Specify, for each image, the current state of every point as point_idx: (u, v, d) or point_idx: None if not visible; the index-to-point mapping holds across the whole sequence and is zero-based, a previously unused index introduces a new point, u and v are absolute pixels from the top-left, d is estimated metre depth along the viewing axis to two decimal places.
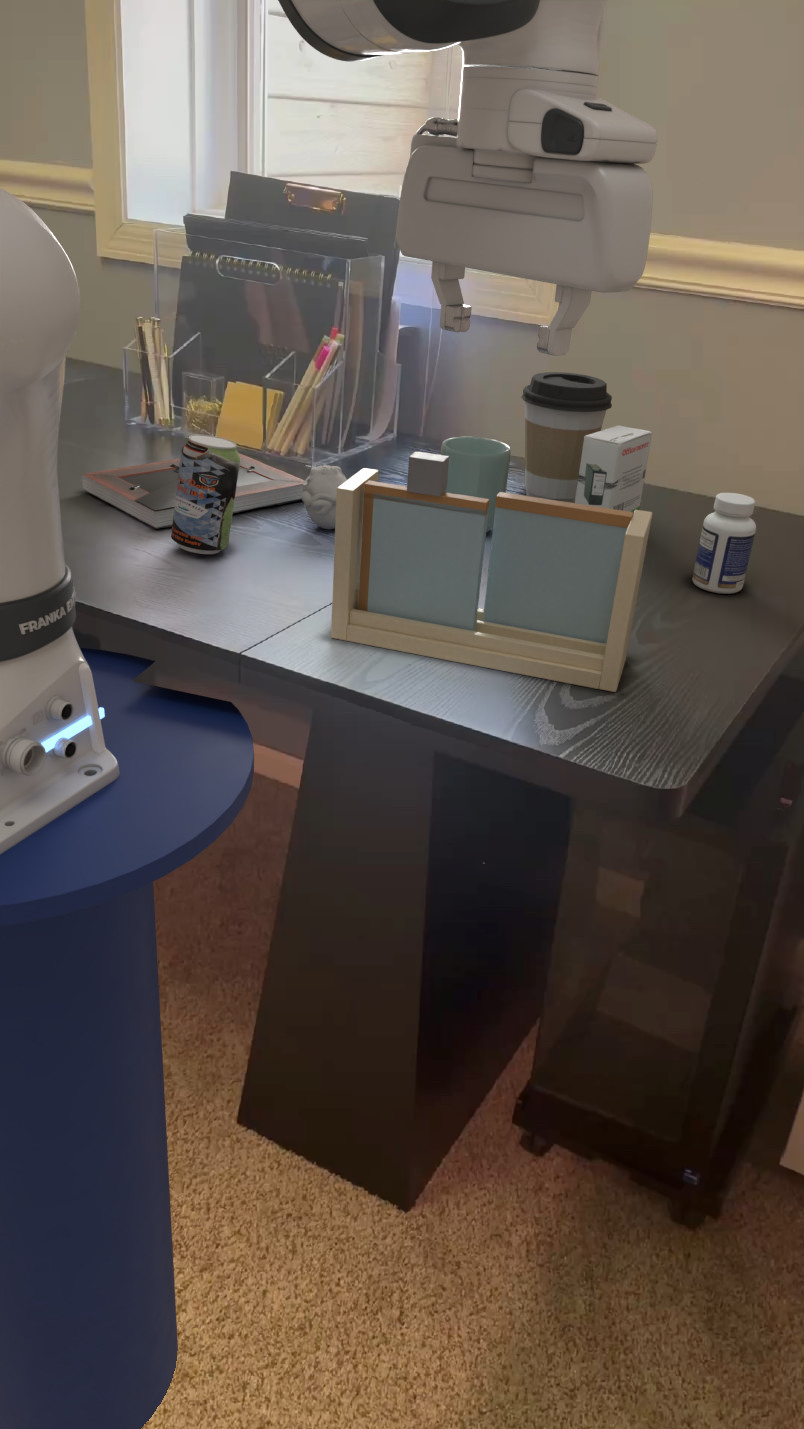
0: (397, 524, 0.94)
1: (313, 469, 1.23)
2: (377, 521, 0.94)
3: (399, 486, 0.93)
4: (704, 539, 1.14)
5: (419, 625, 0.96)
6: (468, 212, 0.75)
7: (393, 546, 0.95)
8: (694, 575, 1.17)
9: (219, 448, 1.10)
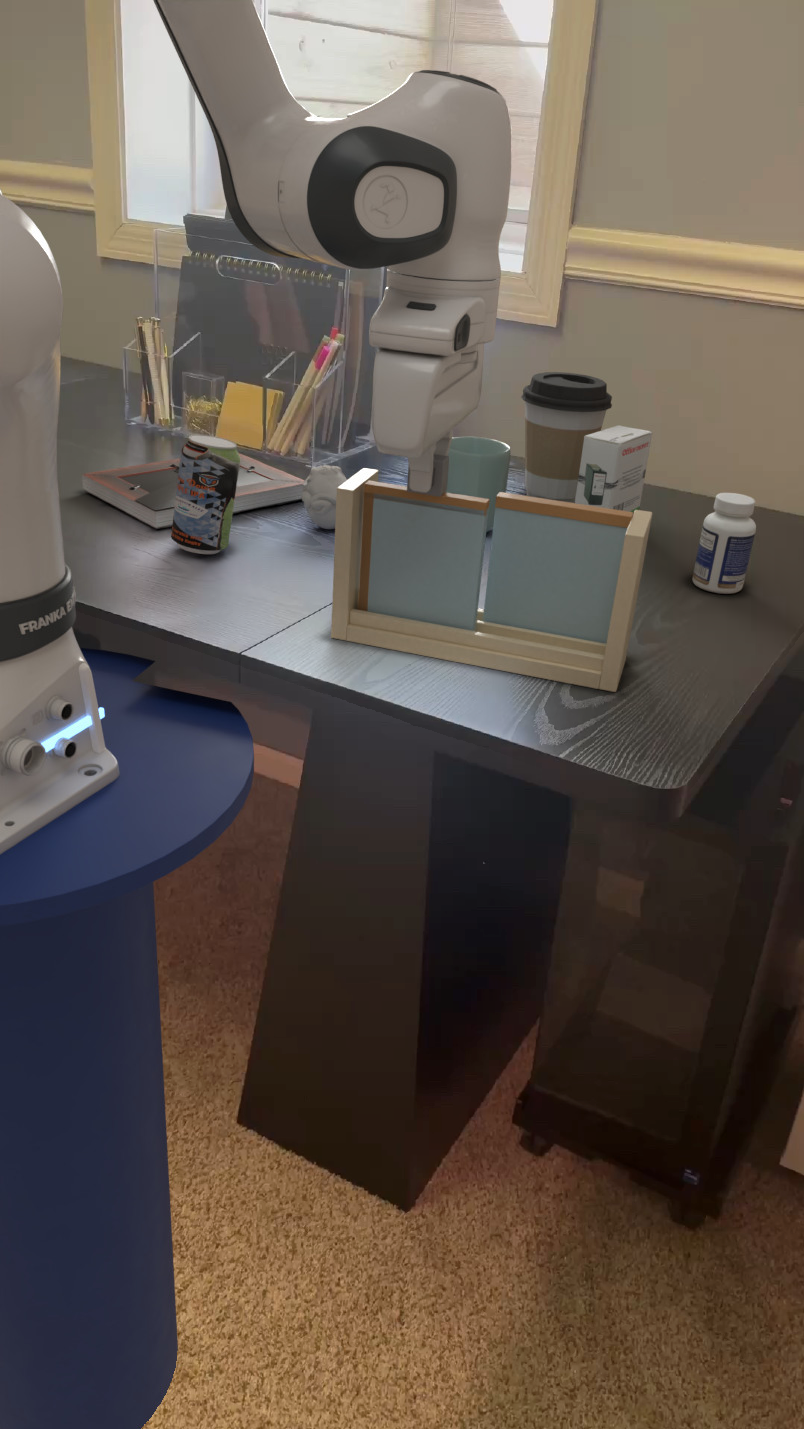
0: (397, 524, 0.94)
1: (313, 469, 1.23)
2: (377, 521, 0.94)
3: (399, 486, 0.93)
4: (704, 539, 1.14)
5: (419, 625, 0.96)
6: None
7: (393, 546, 0.95)
8: (694, 575, 1.17)
9: (219, 448, 1.10)
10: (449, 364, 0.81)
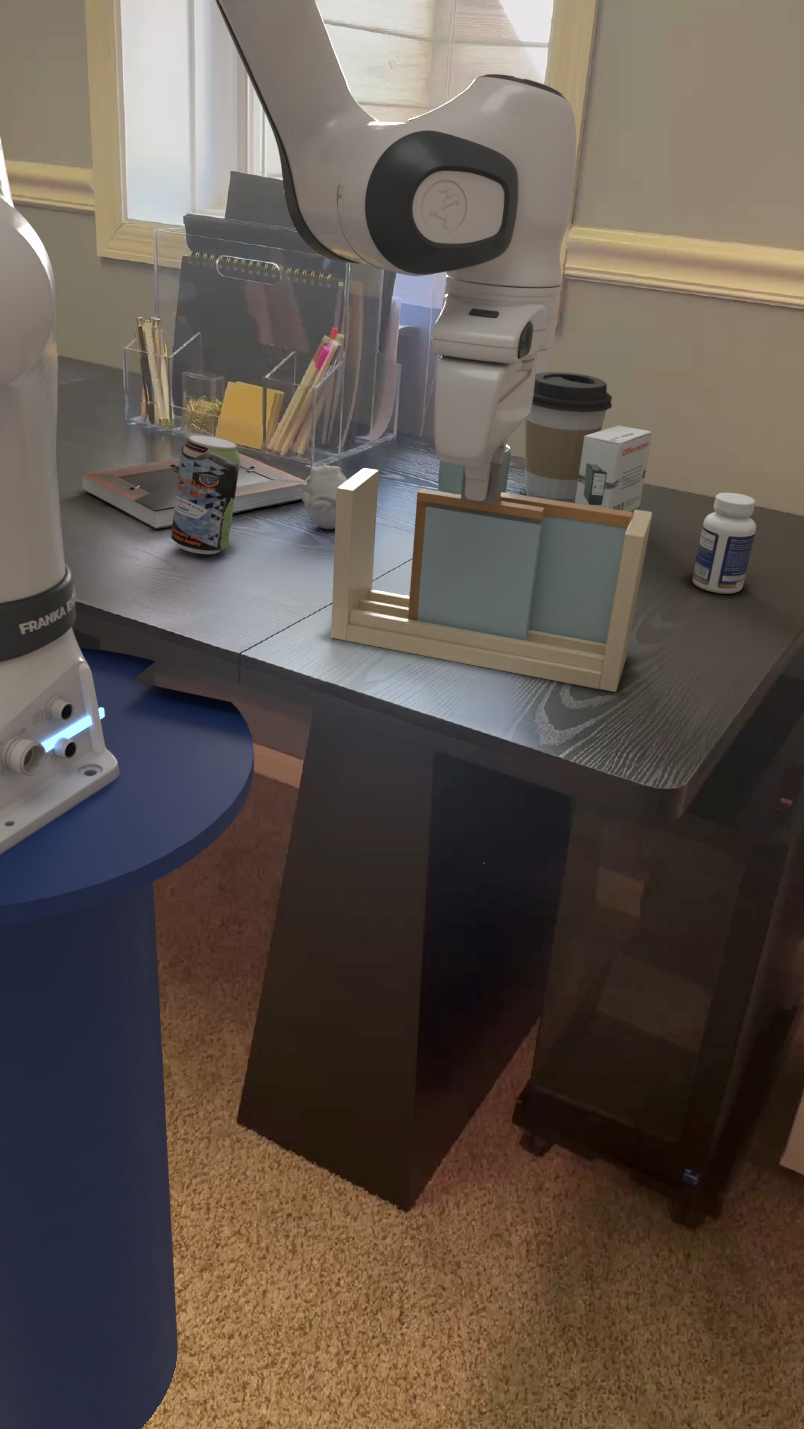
0: (450, 533, 0.93)
1: (313, 469, 1.23)
2: (429, 530, 0.93)
3: (452, 494, 0.92)
4: (704, 539, 1.14)
5: (419, 625, 0.96)
6: None
7: (445, 555, 0.94)
8: (694, 575, 1.17)
9: (219, 448, 1.10)
10: (512, 372, 0.80)
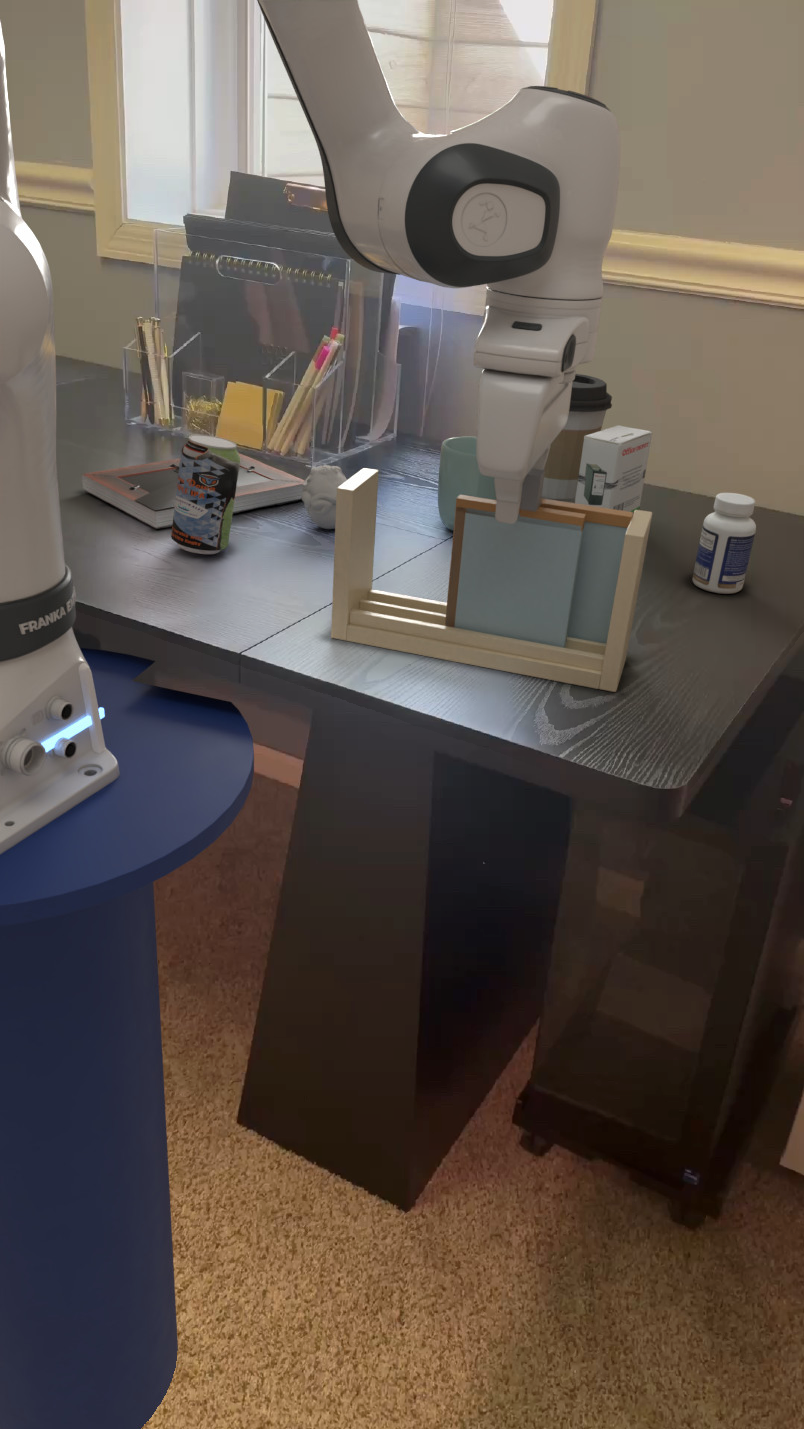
0: (489, 539, 0.92)
1: (313, 469, 1.23)
2: (468, 536, 0.93)
3: (492, 500, 0.92)
4: (704, 539, 1.14)
5: (419, 625, 0.96)
6: None
7: (484, 561, 0.93)
8: (694, 575, 1.17)
9: (219, 448, 1.10)
10: (554, 385, 0.79)
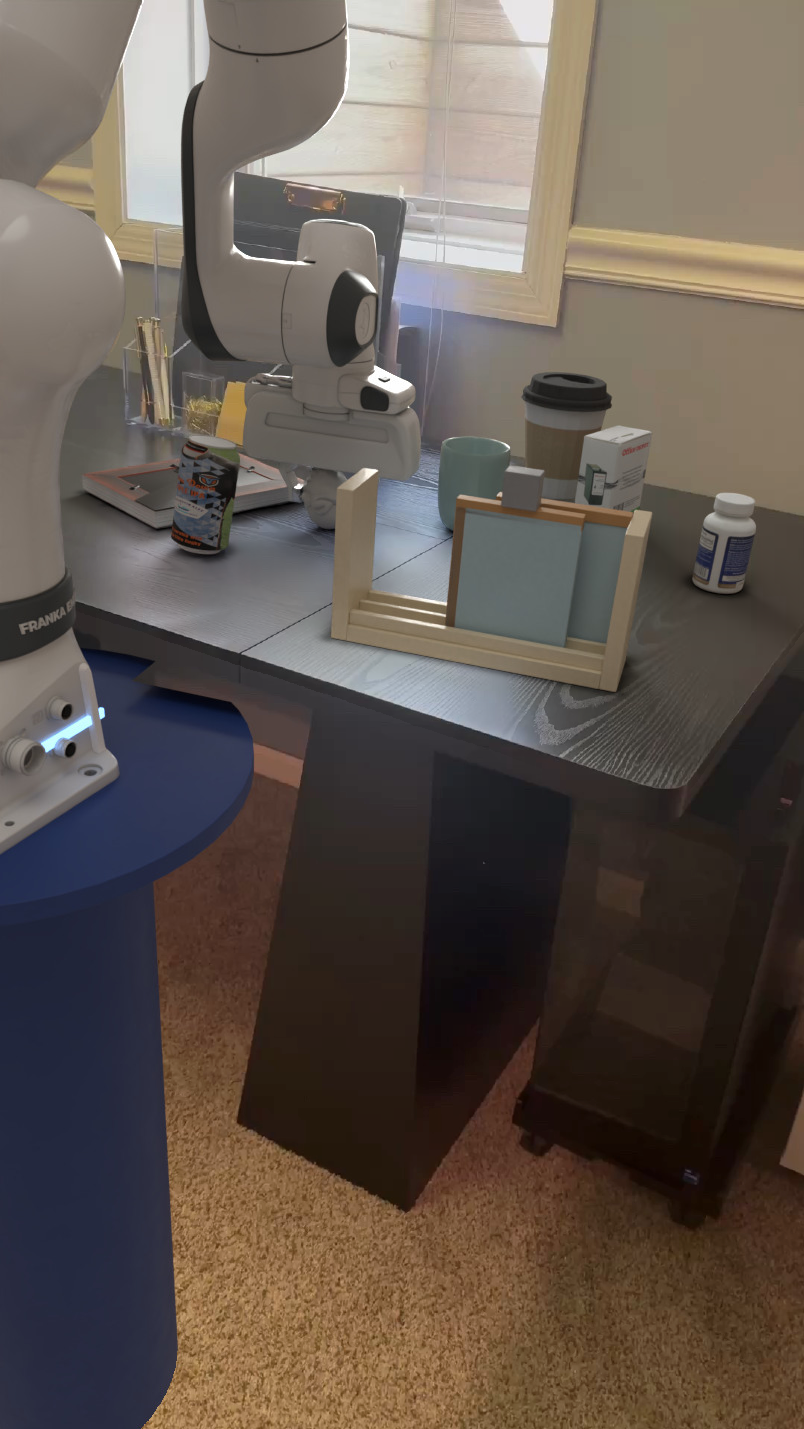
0: (489, 539, 0.92)
1: (313, 469, 1.23)
2: (468, 536, 0.93)
3: (492, 500, 0.92)
4: (704, 539, 1.14)
5: (419, 625, 0.96)
6: (302, 434, 1.20)
7: (484, 561, 0.93)
8: (694, 575, 1.17)
9: (219, 448, 1.10)
10: None
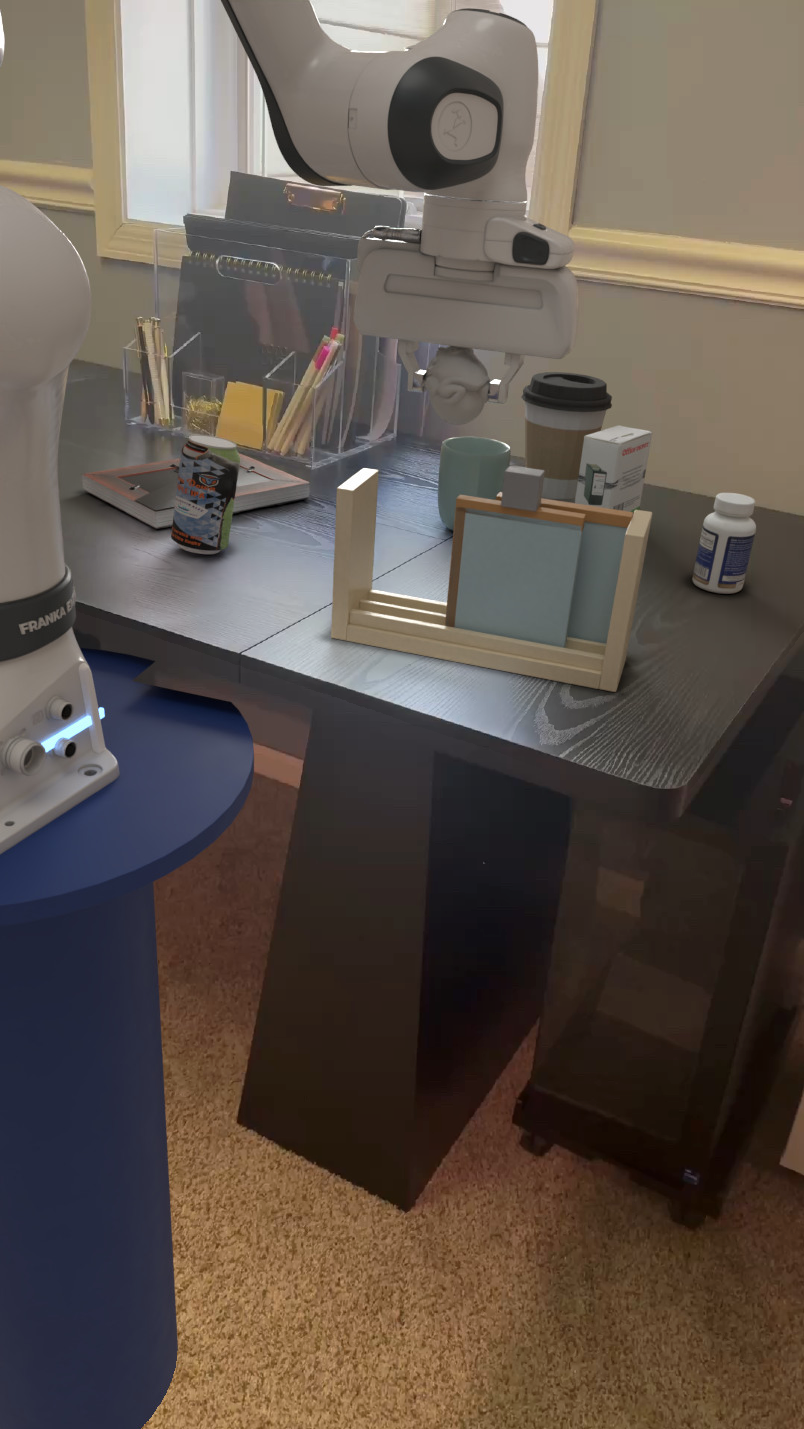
0: (489, 539, 0.92)
1: (441, 348, 0.99)
2: (468, 536, 0.93)
3: (492, 500, 0.92)
4: (704, 539, 1.14)
5: (419, 625, 0.96)
6: (431, 301, 0.96)
7: (484, 561, 0.93)
8: (694, 575, 1.17)
9: (219, 448, 1.10)
10: None
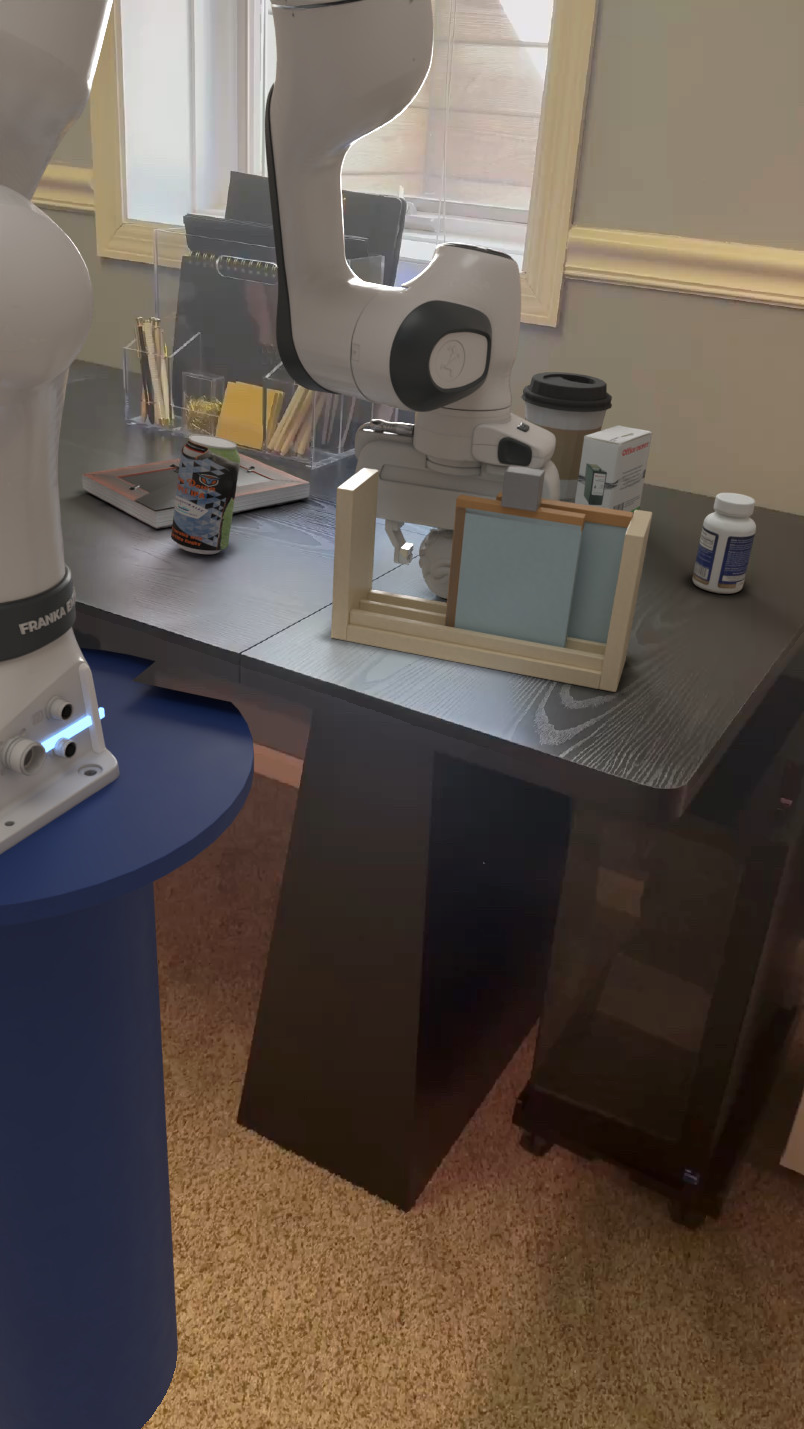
0: (489, 539, 0.92)
1: (433, 531, 1.07)
2: (468, 536, 0.93)
3: (492, 500, 0.92)
4: (704, 539, 1.14)
5: (419, 625, 0.96)
6: (423, 490, 1.04)
7: (484, 561, 0.93)
8: (694, 575, 1.17)
9: (219, 448, 1.10)
10: None
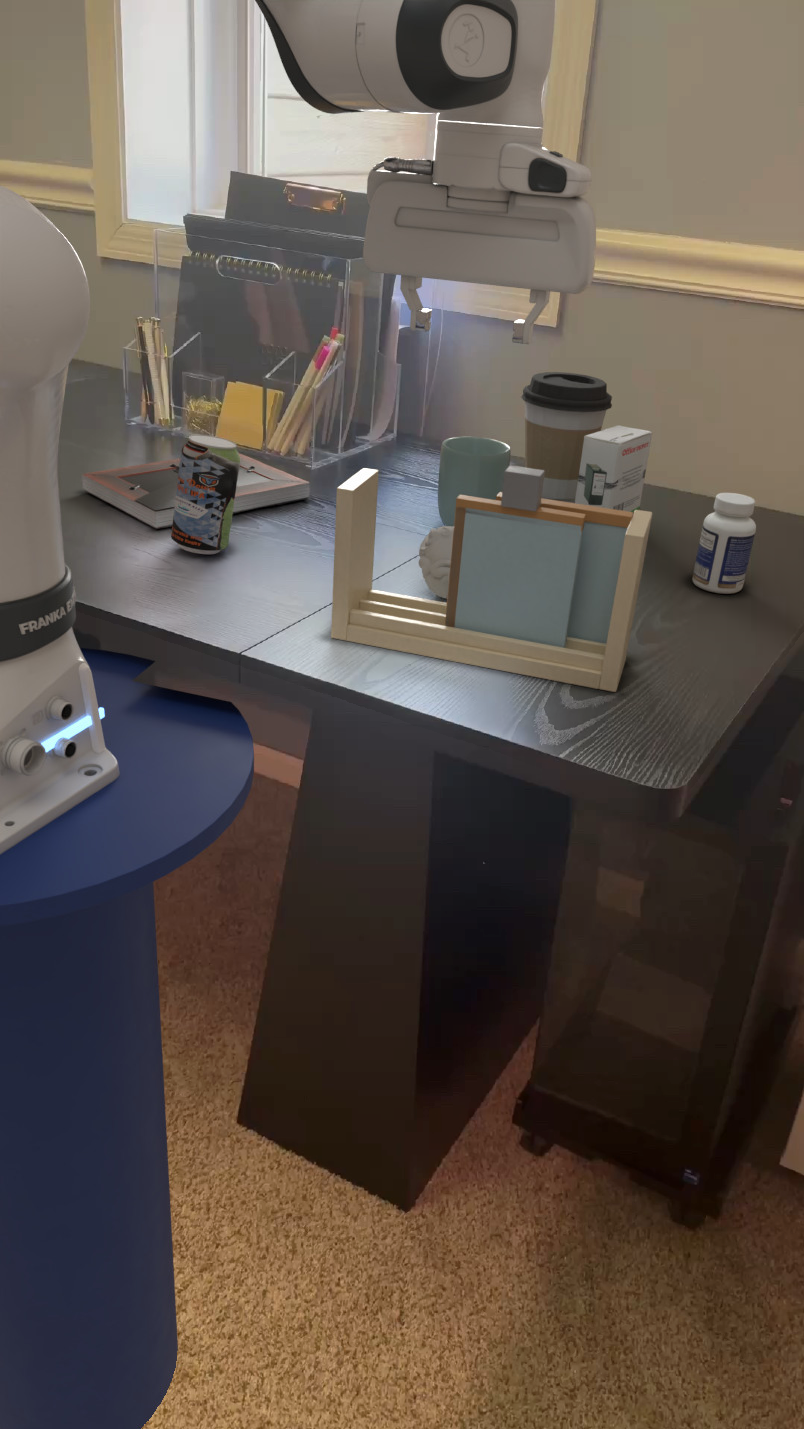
0: (489, 539, 0.92)
1: (433, 531, 1.07)
2: (468, 536, 0.93)
3: (492, 500, 0.92)
4: (704, 539, 1.14)
5: (419, 625, 0.96)
6: (443, 235, 0.93)
7: (484, 561, 0.93)
8: (694, 575, 1.17)
9: (219, 448, 1.10)
10: None
